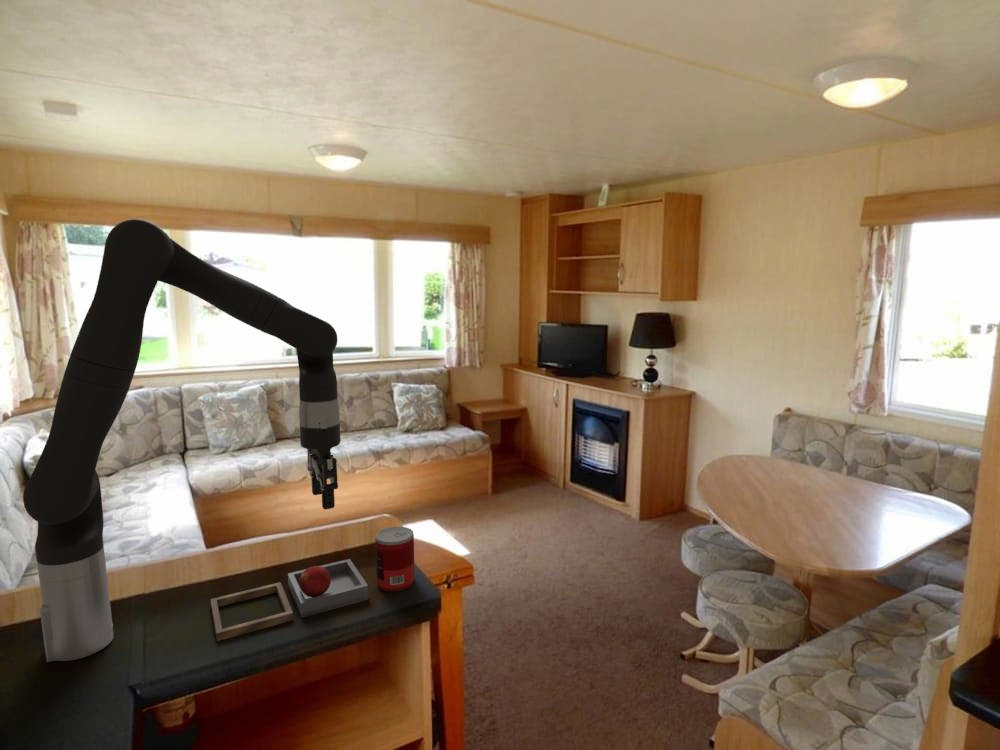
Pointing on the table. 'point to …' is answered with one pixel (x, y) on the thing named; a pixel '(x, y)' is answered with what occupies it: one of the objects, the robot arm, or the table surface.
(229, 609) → the table surface
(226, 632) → the square frame
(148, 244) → the robot arm
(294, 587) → the bin
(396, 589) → the canned food
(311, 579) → the onion
